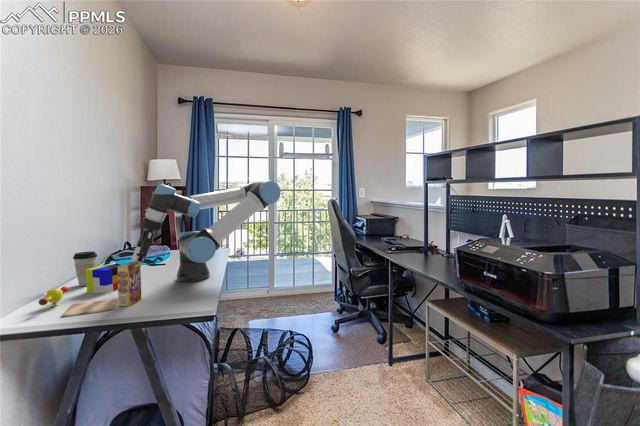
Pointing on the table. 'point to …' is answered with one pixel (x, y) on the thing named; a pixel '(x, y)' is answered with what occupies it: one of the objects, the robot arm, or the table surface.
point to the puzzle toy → (102, 279)
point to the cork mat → (90, 307)
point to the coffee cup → (84, 265)
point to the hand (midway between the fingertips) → (134, 265)
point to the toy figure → (53, 296)
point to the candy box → (129, 283)
